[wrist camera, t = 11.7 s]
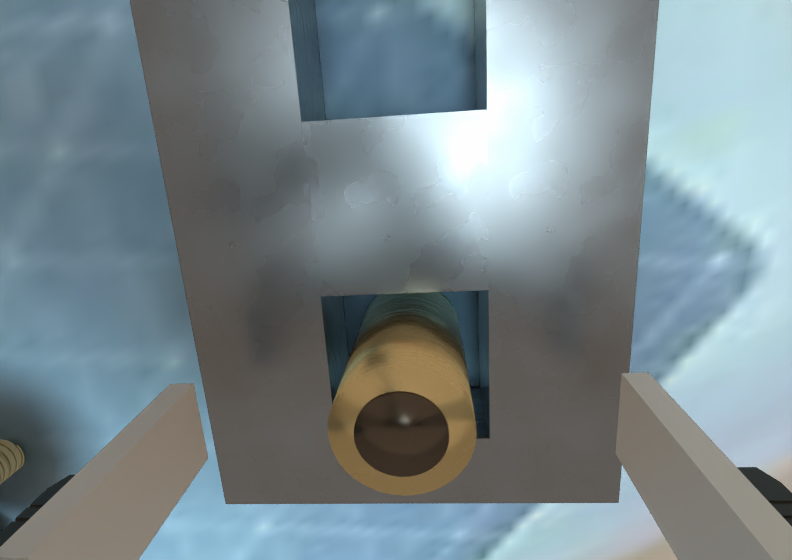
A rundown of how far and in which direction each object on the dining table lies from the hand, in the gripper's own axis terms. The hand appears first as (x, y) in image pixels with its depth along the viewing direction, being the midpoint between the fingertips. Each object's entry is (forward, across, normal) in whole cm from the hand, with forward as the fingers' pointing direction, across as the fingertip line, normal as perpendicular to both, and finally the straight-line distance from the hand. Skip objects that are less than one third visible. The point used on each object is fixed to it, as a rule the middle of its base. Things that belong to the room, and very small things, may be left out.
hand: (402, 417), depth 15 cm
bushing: (+7, 0, 0) cm, 7 cm away
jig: (+7, 0, +6) cm, 9 cm away
